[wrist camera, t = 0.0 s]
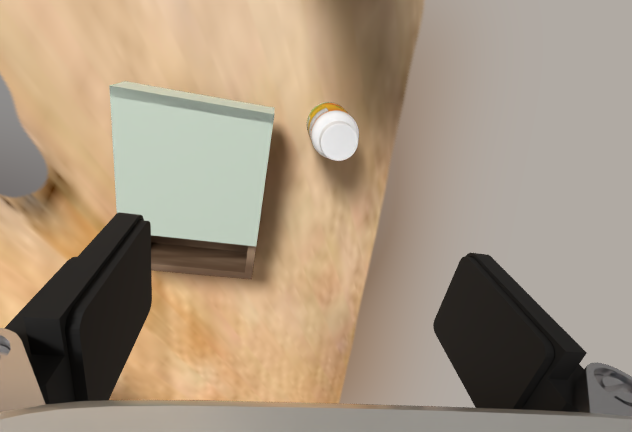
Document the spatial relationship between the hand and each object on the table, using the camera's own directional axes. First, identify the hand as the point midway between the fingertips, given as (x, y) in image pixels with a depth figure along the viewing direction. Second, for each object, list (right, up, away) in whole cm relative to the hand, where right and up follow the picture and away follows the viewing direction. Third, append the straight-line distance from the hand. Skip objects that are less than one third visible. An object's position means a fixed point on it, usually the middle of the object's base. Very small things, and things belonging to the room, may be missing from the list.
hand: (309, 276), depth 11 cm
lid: (-14, +8, +32) cm, 36 cm away
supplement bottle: (+2, +14, +35) cm, 38 cm away
